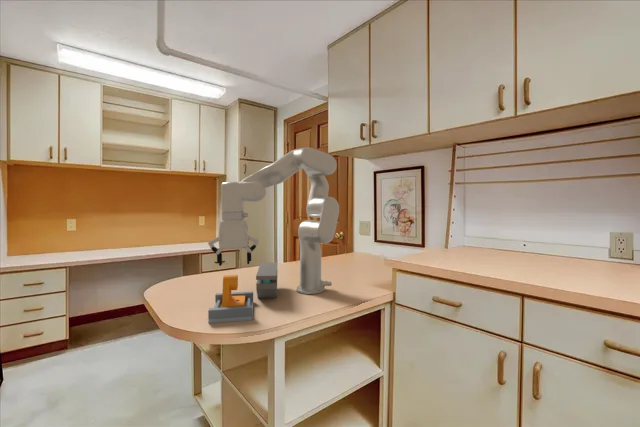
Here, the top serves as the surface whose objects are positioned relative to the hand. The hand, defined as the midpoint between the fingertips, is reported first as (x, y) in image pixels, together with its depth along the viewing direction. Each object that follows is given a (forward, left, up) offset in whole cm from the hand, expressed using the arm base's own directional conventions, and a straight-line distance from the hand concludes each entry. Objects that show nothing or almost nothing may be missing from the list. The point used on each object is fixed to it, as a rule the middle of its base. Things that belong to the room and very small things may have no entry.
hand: (234, 264), depth 105 cm
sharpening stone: (-12, -19, -18) cm, 28 cm away
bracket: (0, 0, -16) cm, 16 cm away
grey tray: (+1, 0, -17) cm, 17 cm away
